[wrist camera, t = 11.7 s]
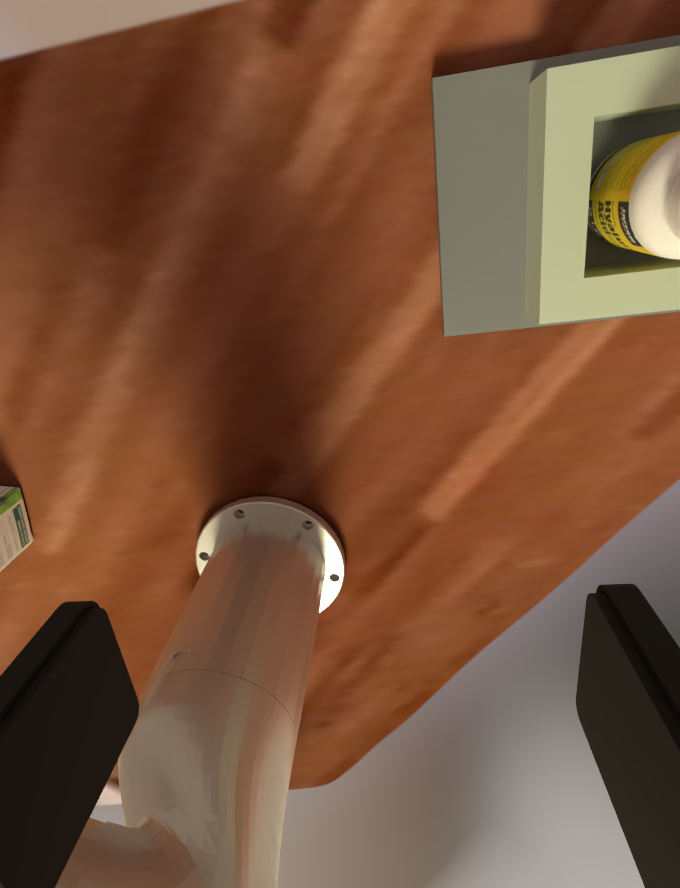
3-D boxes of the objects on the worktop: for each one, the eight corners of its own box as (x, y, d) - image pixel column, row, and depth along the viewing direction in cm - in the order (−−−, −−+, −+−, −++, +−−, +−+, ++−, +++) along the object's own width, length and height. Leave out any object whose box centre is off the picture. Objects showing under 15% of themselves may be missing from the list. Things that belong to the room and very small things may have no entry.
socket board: (879, 4, 25) (976, -35, 21) (808, 292, 31) (874, 307, 27) (430, 82, 28) (437, 62, 24) (442, 332, 34) (450, 350, 30)
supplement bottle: (560, 205, 29) (632, 208, 21) (639, 117, 27) (758, 77, 18) (624, 267, 31) (719, 294, 22) (705, 186, 28) (846, 180, 20)
